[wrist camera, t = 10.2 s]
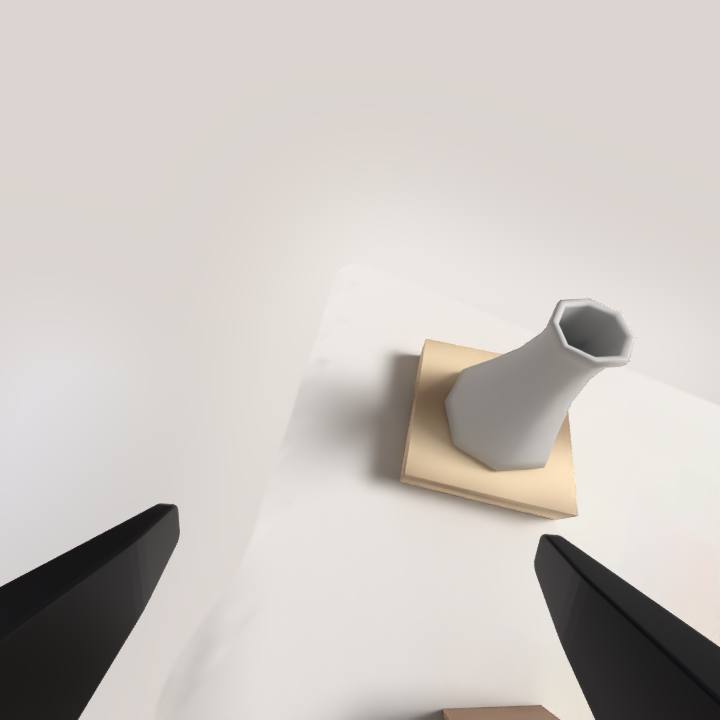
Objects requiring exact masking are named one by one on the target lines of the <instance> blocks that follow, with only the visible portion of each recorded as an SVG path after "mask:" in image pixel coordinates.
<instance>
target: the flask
mask: <svg viewBox="0 0 720 720" xmlns="http://www.w3.org/2000/svg"><path fill="white" fill-rule="evenodd" d="M635 339H636V337H635V335H634V334H633V332H632V330H631V329H630V327H629V325H628V323H627V321H626V320H625V318H624V316H623V314H622V313H621V312H620V311H618V310H615V309H613V308H611V307H608V306H606V305H603V304H601V303H599V302H596V301H594V300H592V299H572V300H560V301H559V302H558V303H557V305H556V307H555V309H554V312H553V314H552V316H551V318H550V320H549V323H548V325H547V327H546V328H545V329H544V331H543V332H542V333H540V334H539V335H538V336H536V337H535V338H533V339H532V340H530V341H529V342H528V343H526V344H525V345H523V346H522V347H520V348H518V349H516V350H513V351H511V352H508V353H506V354H503V355H501V356H499V357H496V358H494V359H491V360H488V361H485V362H482V363H479V364H476V365H473V366H470V367H468V368H465V369H463V370H462V371H461V373H460V375H459V376H458V378H457V380H456V382H455V384H454V385H453V387H452V389H451V391H450V393H449V394H448V396H447V398H446V400H445V402H444V403H445V408H446V413H447V417H448V422H449V427H450V432H451V437H452V441H453V445H454V446H456V447H457V448H459V449H461V450H462V451H464V452H466V453H467V454H469V455H471V456H472V457H474V458H476V459H477V460H479V461H481V462H482V463H484V464H486V465H488V466H489V467H491V468H493V469H494V470H496V471H509V470H522V469H536V468H544V467H545V465H546V463H547V461H548V458H549V455H550V453H551V450H552V447H553V445H554V442H555V440H556V437H557V434H558V432H559V430H560V428H561V425H562V423H563V421H564V419H565V417H566V414H567V412H568V410H569V408H570V406H571V403H572V401H573V400H574V399H575V398H576V396H577V395H578V394H579V393H580V391H581V390H582V389H583V388H584V386H585V385H586V384H587V383H588V381H589V380H590V379H591V378H593V377H594V376H595V375H597V374H598V373H599V372H601V371H602V370H603V369H605V368H606V367H620V366H623V365H625V364H627V363H628V362H629V361H630V357H631V353H632V350H633V346H634V343H635Z"/></svg>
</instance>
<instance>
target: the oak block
mask: <svg viewBox="0 0 720 720" xmlns="http://www.w3.org/2000/svg"><path fill="white" fill-rule="evenodd" d="M501 355H502V354H498V353H493V352H488V351H483V350H478V349H473V348H468V347H463V346H458V345H454V344H449V343H444V342H439V341H434V340H429V339H426V340H425V343H424V346H423V349H422V352H421V354H420V359H419V365H418V371H417V377H416V384H415V390H414V396H413V402H412V408H411V415H410V421H409V427H408V433H407V439H406V446H405V452H404V458H403V464H402V470H401V476H400V482H402V483H407V484H411V485H415V486H419V487H423V488H427V489H431V490H435V491H439V492H443V493H447V494H451V495H455V496H460V497H464V498H468V499H472V500H476V501H480V502H484V503H488V504H492V505H496V506H500V507H504V508H508V509H513V510H517V511H521V512H525V513H529V514H533V515H537V516H541V517H545V518H549V519H553V520H558V519H563V518H569V517H575V516H578V510H577V499H576V489H575V478H574V468H573V457H572V447H571V436H570V425H569V415H568V412H567V414H566V417H565V419H564V421H563V423H562V425H561V428H560V430H559V432H558V434H557V437H556V440H555V442H554V445H553V447H552V450H551V453H550V455H549V458H548V461H547V463H546V465H545V467H544V468H536V469H522V470H509V471H496V470H494V469H493V468H491V467H489V466H488V465H486V464H484V463H482V462H481V461H479V460H477V459H476V458H474V457H472V456H471V455H469V454H467V453H466V452H464V451H462V450H461V449H459V448H457V447H456V446H454V445H453V441H452V437H451V432H450V427H449V422H448V417H447V413H446V408H445V403H444V402H445V400H446V398H447V396H448V394H449V393H450V391H451V389H452V387H453V385H454V384H455V382H456V380H457V378H458V376H459V375H460V373H461V371H462V370H463V369H465V368H468V367H470V366H473V365H476V364H479V363H482V362H485V361H488V360H491V359H494V358H496V357H499V356H501Z"/></svg>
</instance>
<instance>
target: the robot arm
mask: <svg viewBox="0 0 720 720" xmlns="http://www.w3.org/2000/svg"><path fill="white" fill-rule="evenodd" d="M179 534H180V529H179V514H178V508H177V506H176V505H174V504H157V505H155V506H153V507H151V508H149V509H147V510H146V511H144V512H142V513H140V514H138V515H136V516H134V517H132V518H130V519H129V520H127V521H125V522H123V523H121V524H119V525H117V526H115V527H113V528H111V529H109V530H108V531H106V532H104V533H102V534H100V535H98V536H96V537H94V538H92V539H90V540H89V541H87V542H85V543H83V544H81V545H79V546H77V547H75V548H73V549H72V550H70V551H68V552H66V553H64V554H62V555H60V556H58V557H56V558H54V559H53V560H51V561H49V562H47V563H45V564H43V565H41V566H39V567H37V568H35V569H33V570H32V571H30V572H28V573H26V574H24V575H22V576H20V577H18V578H17V579H15V580H13V581H11V582H9V583H7V584H5V585H3V586H1V587H0V720H78V719H79V717H80V716H81V714H82V712H83V711H84V709H85V707H86V706H87V704H88V702H89V701H90V699H91V697H92V696H93V694H94V692H95V691H96V689H97V687H98V686H99V684H100V683H101V681H102V679H103V678H104V676H105V674H106V673H107V671H108V669H109V668H110V666H111V664H112V662H113V661H114V659H115V658H116V656H117V654H118V653H119V651H120V649H121V647H122V646H123V644H124V643H125V641H126V639H127V638H128V636H129V635H130V633H131V631H132V630H133V628H134V626H135V625H136V623H137V621H138V620H139V618H140V616H141V614H142V613H143V611H144V609H145V607H146V605H147V603H148V601H149V600H150V598H151V595H152V593H153V591H154V589H155V587H156V585H157V583H158V581H159V579H160V577H161V575H162V573H163V571H164V569H165V567H166V565H167V563H168V561H169V559H170V557H171V555H172V553H173V551H174V548H175V547H176V545H177V542H178V539H179ZM534 568H535V572H536V575H537V578H538V581H539V584H540V586H541V589H542V592H543V595H544V598H545V601H546V603H547V606H548V609H549V612H550V615H551V617H552V620H553V623H554V626H555V629H556V632H557V634H558V637H559V639H560V642H561V644H562V647H563V649H564V651H565V654H566V656H567V658H568V661H569V663H570V665H571V667H572V669H573V672H574V674H575V676H576V678H577V680H578V683H579V685H580V687H581V689H582V691H583V694H584V696H585V698H586V700H587V702H588V705H589V707H590V709H591V711H592V714H593V716H594V718H595V720H720V647H719V646H718V645H716V644H715V643H713V642H712V641H710V640H709V639H708V638H706V637H705V636H703V635H702V634H700V633H699V632H698V631H696V630H695V629H693V628H692V627H690V626H689V625H688V624H686V623H685V622H683V621H682V620H680V619H679V618H678V617H676V616H675V615H673V614H672V613H670V612H669V611H668V610H666V609H665V608H663V607H662V606H660V605H659V604H657V603H656V602H655V601H653V600H652V599H650V598H649V597H647V596H646V595H645V594H643V593H642V592H640V591H639V590H637V589H636V588H635V587H633V586H632V585H630V584H629V583H627V582H626V581H625V580H623V579H622V578H620V577H619V576H617V575H616V574H615V573H613V572H612V571H610V570H609V569H607V568H606V567H605V566H603V565H602V564H600V563H599V562H597V561H596V560H595V559H593V558H592V557H590V556H589V555H587V554H586V553H585V552H583V551H582V550H580V549H579V548H577V547H576V546H574V545H573V544H572V543H570V542H569V541H567V540H566V539H564V538H563V537H561V536H559V535H549V534H544V535H542V536H541V537H540V540H539V544H538V548H537V552H536V556H535V560H534Z"/></svg>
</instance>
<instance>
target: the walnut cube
mask: <svg viewBox="0 0 720 720" xmlns="http://www.w3.org/2000/svg"><path fill="white" fill-rule="evenodd" d="M443 719H444V720H560V719H559V718H557V717H556V716H555V715H553V714H552V713H551V712H549V711H548V710H547V709H545V708H544V707H543V706H541V705H537V706H509V707H482V708H454V709H443Z"/></svg>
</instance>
